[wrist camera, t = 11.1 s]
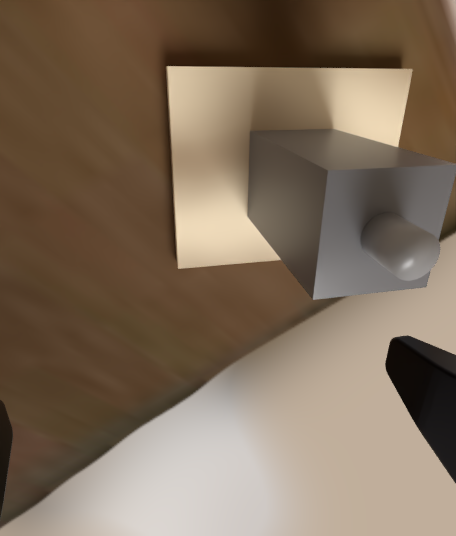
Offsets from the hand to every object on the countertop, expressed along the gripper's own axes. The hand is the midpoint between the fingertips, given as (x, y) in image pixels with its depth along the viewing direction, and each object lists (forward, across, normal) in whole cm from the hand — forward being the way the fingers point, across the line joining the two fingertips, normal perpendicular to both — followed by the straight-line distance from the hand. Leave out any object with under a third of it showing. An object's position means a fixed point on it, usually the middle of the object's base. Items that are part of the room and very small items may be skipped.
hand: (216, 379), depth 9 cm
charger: (+11, -6, -2) cm, 12 cm away
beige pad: (+12, -6, -2) cm, 13 cm away
